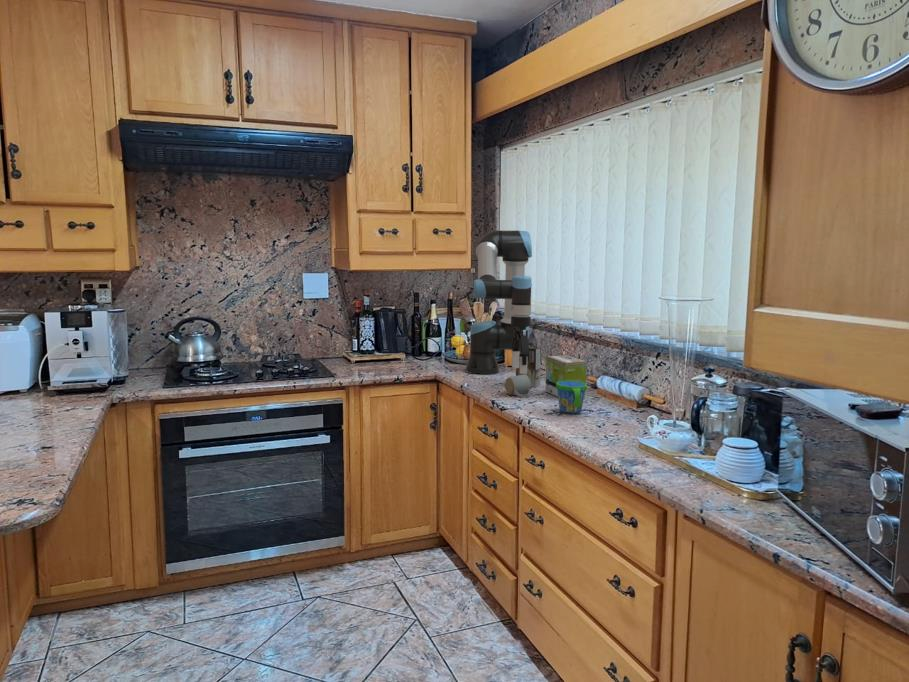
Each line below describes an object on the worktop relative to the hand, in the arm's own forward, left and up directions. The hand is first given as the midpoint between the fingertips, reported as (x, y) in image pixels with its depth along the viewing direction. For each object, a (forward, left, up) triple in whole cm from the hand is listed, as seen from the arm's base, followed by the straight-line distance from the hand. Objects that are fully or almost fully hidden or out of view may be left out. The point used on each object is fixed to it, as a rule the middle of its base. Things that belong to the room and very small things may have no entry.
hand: (519, 370), depth 258 cm
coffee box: (-18, +8, -10) cm, 22 cm away
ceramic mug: (0, 0, -10) cm, 10 cm away
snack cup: (+29, +12, -10) cm, 33 cm away
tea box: (+2, +18, -10) cm, 21 cm away
